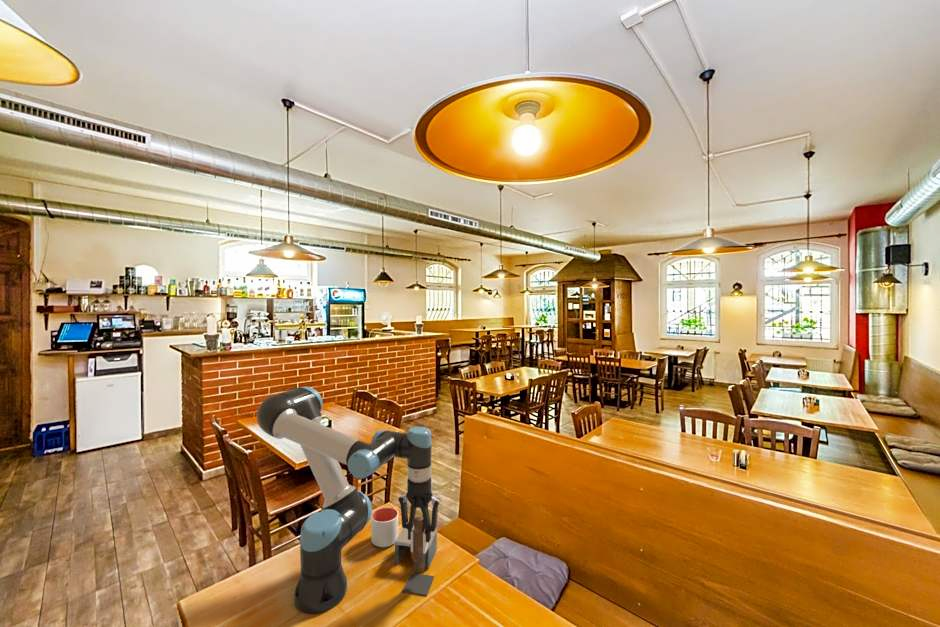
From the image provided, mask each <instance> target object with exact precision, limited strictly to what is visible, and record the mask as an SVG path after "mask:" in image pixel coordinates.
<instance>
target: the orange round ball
mask: <svg viewBox="0 0 940 627" xmlns="http://www.w3.org/2000/svg"><path fill="white" fill-rule="evenodd" d="M410 560H412V561H413V562H414V551H413V552H411V551H410Z"/></svg>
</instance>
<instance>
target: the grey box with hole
mask: <svg viewBox="0 0 940 627" xmlns="http://www.w3.org/2000/svg"><path fill="white" fill-rule="evenodd" d="M413 527H414V526H413ZM437 536H438V529H437V528H436V529H435V531H434V532H431V539H430V541H429V542H428V549H427V551H426V553H425V569H424V570H429V569H430V567H431V564H432V562H433V559H434V558H435V555H436V553H437V546H438V545H437V542H438V540H437V539H438V537H437ZM408 549H410V550H411V540H408V530H407V529H406V528H403V527H402V529H401V530H400V533H398V537H397V539H396V541H395V543H394V565H396V566H397V565H398V566H399V564H400V562H401V560H402V559H403V557H404V555H405V554H406V552H407V550H408Z"/></svg>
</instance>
